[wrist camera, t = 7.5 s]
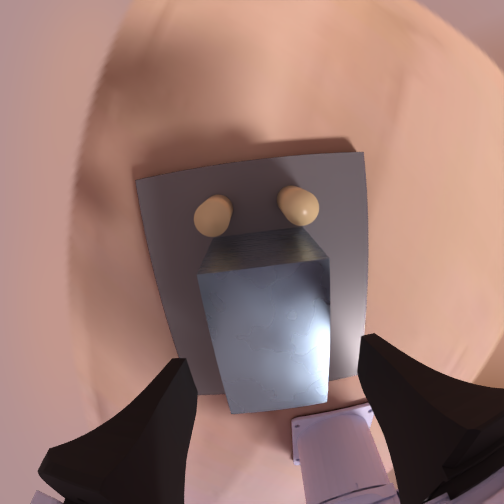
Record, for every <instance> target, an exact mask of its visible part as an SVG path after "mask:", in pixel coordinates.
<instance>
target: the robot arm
mask: <svg viewBox="0 0 504 504" xmlns="http://www.w3.org/2000/svg"><path fill="white" fill-rule="evenodd" d="M357 374H358V377H359V380H360V383H361V386H362V389H363V392H364V394H365V396H366V398H367V400H368V402H369V403H365V404H361V405H357V406H353V407H349V408H344V409H340V410H335V411H330V412H325V413H320V414H314V415H309V416H302V417H296V418H294V419H292V421H291V424H292V442H293V462H294V465H301V471H302V478H303V484H304V491H305V497H306V504H504V389H502V388H491V387H486V386H480V385H476V384H472V383H468V382H465V381H461V380H458V379H455V378H452V377H450V376H447V375H445V374H442V373H440V372H438V371H436V370H433V369H431V368H429V367H427V366H426V365H424V364H422V363H420V362H418V361H417V360H415V359H413V358H411V357H410V356H408V355H407V354H405V353H403V352H402V351H400V350H399V349H397V348H396V347H394V346H393V345H391V344H390V343H388V342H387V341H385V340H384V339H382V338H381V337H379V336H378V335H376V334H375V333H373V334H368V335H364V336H361V340H360V351H359V360H358V368H357ZM197 396H198V391H197V388H196V386H195V383H194V380H193V377H192V374H191V371H190V368H189V365H188V362H187V359H186V358H172V360H171V361H170V362H169V363H168V364H167V365H166V366H165V367H164V368H163V370H162V371H161V372H160V373H159V374H158V375H157V376H156V377H155V379H154V380H153V381H152V382H151V383H150V384H149V385H148V386H147V387H146V388H145V389H144V390H143V391H142V392H141V393H140V394H139V395H138V396H137V397H136V398H135V399H134V400H133V401H132V402H131V403H130V404H129V405H128V406H126V407H125V408H124V409H123V410H122V411H120V412H119V413H118V414H117V415H115V416H114V417H113V418H111V419H110V420H108V421H107V422H105V423H104V424H102V425H100V426H99V427H97V428H96V429H94V430H92V431H91V432H89V433H87V434H85V435H83V436H81V437H79V438H77V439H75V440H72V441H70V442H67V443H64V444H61V445H59V446H56V447H53V448H49V450H48V452H47V454H46V456H45V458H44V459H43V461H42V463H41V466H40V467H39V469H38V474H39V476H40V477H41V478H42V479H43V480H44V481H45V482H46V483H47V484H48V485H49V486H50V487H52V488H53V489H54V490H55V491H57V492H58V493H59V494H60V495H61V496H63V497H64V498H65V501H64V503H62V502H60V501H58V500H57V499H55V498H53V497H51V496H48V495H46V494H44V493H42V492H40V491H38V490H37V491H36V493H35V495H34V497H33V499H32V502H31V504H184V486H185V469H186V459H187V453H188V448H189V444H190V439H191V435H192V430H193V425H194V421H195V416H196V410H197ZM373 415H375V417H376V419H377V421H378V423H379V425H380V427H381V429H382V432H383V434H384V437H385V440H386V443H387V446H388V449H389V452H390V456H391V460H392V463H393V467H394V471H395V476H396V480H397V485H398V489H397V490H395V487H394V484H393V483H390V481H389V478H388V476H387V473H386V470H385V468H384V465H383V462H382V460H381V457H380V454H379V452H378V449H377V447H376V444H375V442H374V439H373V436H372V434H371V431H370V426H371V423H372V419H373Z"/></svg>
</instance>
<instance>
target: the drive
mask: <svg viewBox="0 0 504 504" xmlns="http://www.w3.org/2000/svg"><path fill="white" fill-rule="evenodd" d="M197 279H198V283H199V288H200V293H201V297H202V302H203V306H204V311H205V315H206V319H207V324H208V328H209V332H210V336H211V340H212V344H213V348H214V352H215V356H216V360H217V364H218V368H219V371H220V375H221V379H222V383H223V386H224V390H225V393H226V397H227V400H228V404H229V407H230V411H231V414H240V413H253V412H264V411H273V410H281V409H289V408H296V407H302V406H308V405H314V404H320V403H325V402H327V395H328V378H329V356H330V259H329V257H328V256H327V255H326V253H325V252H324V251H323V250H322V249H321V247H320V246H319V245H318V244H317V243H316V242H315V240H314V239H313V238H312V237H311V236H310V235H309V233H308V232H307V231H306V230H305V229H304V228H303V227H294V228H286V229H277V230H269V231H261V232H253V233H245V234H237V235H229V236H222V237H214V238H213V240H212V242H211V244H210V246H209V248H208V251H207V253H206V255H205V257H204V259H203V262H202V264H201V266H200V268H199V271H198V273H197Z"/></svg>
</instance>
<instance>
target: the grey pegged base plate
mask: <svg viewBox="0 0 504 504" xmlns="http://www.w3.org/2000/svg"><path fill="white" fill-rule="evenodd" d="M135 181H136V187H137V193H138V199H139V205H140V210H141V216H142V221H143V226H144V231H145V235H146V240H147V245H148V249H149V253H150V258H151V262H152V266H153V270H154V274H155V278H156V282H157V286H158V290H159V293H160V297H161V301H162V304H163V308H164V311H165V315H166V318H167V321H168V325H169V328H170V331H171V335H172V338H173V341H174V344H175V347H176V350H177V353H178V356H179V358H186V359H187V362H188V365H189V368H190V371H191V374H192V377H193V380H194V383H195V386H196V388H197V391H198V395H216V394H226V393H225V390H224V386H223V383H222V379H221V375H220V371H219V368H218V364H217V360H216V356H215V352H214V348H213V344H212V340H211V336H210V332H209V328H208V324H207V319H206V315H205V311H204V306H203V302H202V297H201V293H200V288H199V283H198V279H197V273H198V271H199V268H200V266H201V264H202V262H203V259H204V257H205V255H206V253H207V251H208V248H209V246H210V244H211V242H212V240H213V238H214V237H222V236H229V235H237V234H245V233H253V232H261V231H269V230H277V229H286V228H294V227H303V228H304V229H305V230H306V231H307V232H308V233H309V235H310V236H311V237H312V238H313V239H314V240H315V242H316V243H317V244H318V245H319V246H320V247H321V249H322V250H323V251H324V252H325V253H326V255H327V256H328V257H329V259H330V356H329V378H328V381H332V380H337V379H342V378H346V377H351V376H355V375H358V374H357V368H358V360H359V351H360V340H361V336H364V330H365V319H366V305H367V286H368V206H367V187H366V173H365V161H364V152H345V153H325V154H309V155H296V156H285V157H275V158H266V159H257V160H249V161H241V162H233V163H226V164H219V165H213V166H207V167H201V168H195V169H189V170H183V171H178V172H173V173H167V174H162V175H158V176H153V177H148V178H143V179H139V180H135Z"/></svg>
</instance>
